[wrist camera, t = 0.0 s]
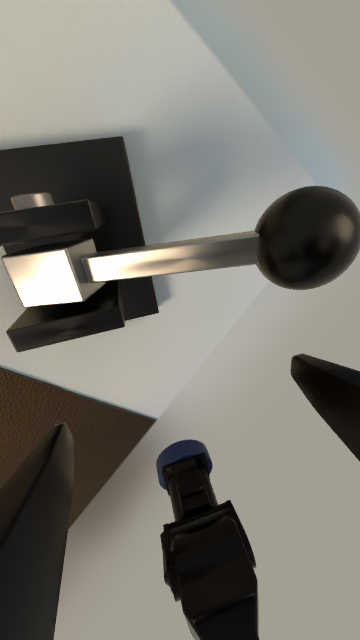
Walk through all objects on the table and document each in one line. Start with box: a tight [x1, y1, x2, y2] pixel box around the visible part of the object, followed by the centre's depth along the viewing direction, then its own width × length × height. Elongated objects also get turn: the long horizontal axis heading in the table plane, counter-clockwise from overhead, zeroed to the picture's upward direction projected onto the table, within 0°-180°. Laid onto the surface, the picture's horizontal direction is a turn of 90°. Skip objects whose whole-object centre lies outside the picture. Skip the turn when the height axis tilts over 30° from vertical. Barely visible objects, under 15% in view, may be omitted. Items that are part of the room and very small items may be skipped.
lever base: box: [0, 136, 159, 352], centre depth 13 cm, size 9×12×10 cm
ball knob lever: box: [1, 186, 360, 308], centre depth 10 cm, size 13×4×4 cm, turn 98°
